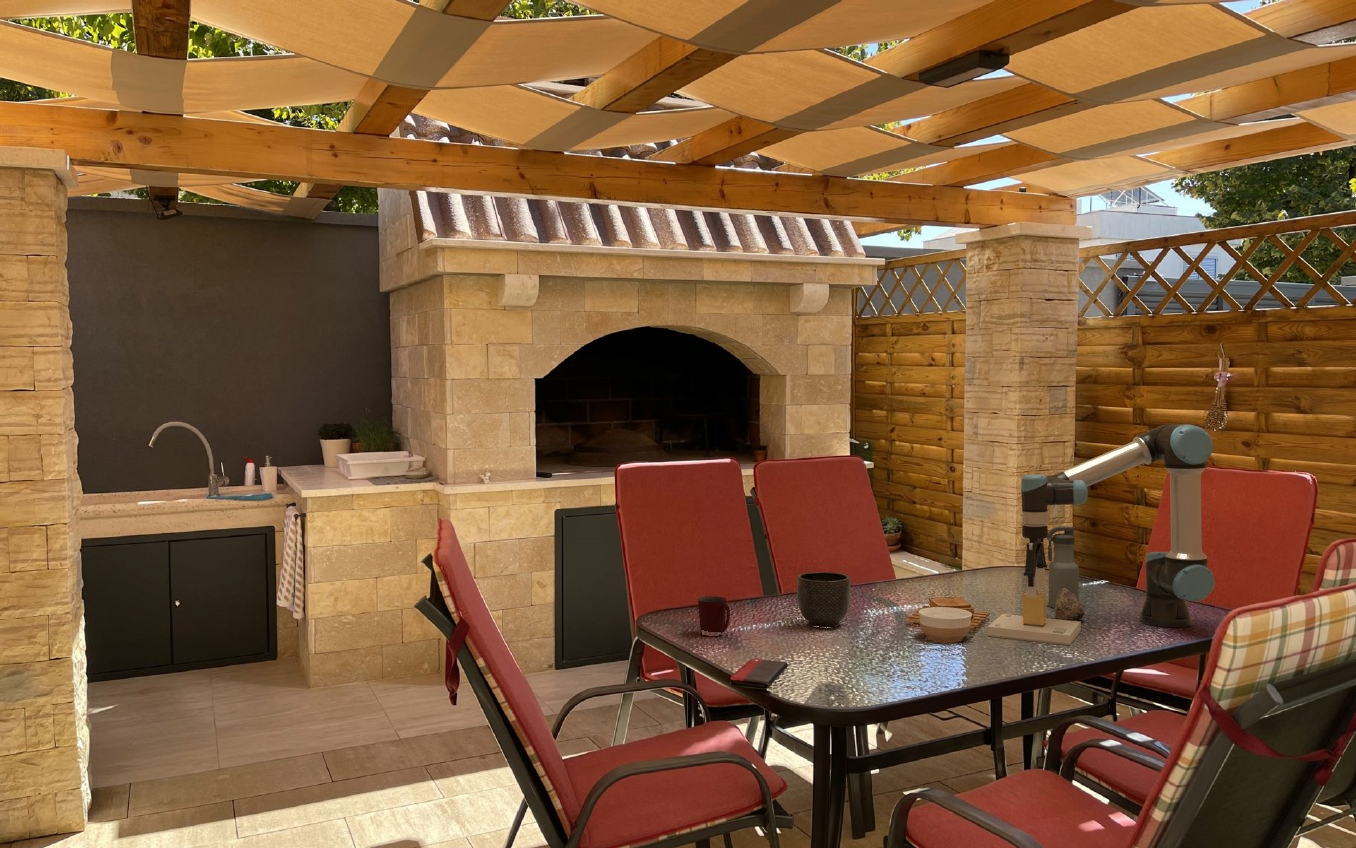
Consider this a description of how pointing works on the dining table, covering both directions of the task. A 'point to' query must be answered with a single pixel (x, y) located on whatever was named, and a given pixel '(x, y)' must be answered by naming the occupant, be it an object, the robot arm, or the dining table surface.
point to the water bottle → (1062, 563)
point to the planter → (823, 597)
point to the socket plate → (1035, 630)
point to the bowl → (945, 623)
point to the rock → (1068, 606)
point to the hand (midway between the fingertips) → (1036, 593)
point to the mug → (713, 614)
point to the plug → (1034, 610)
